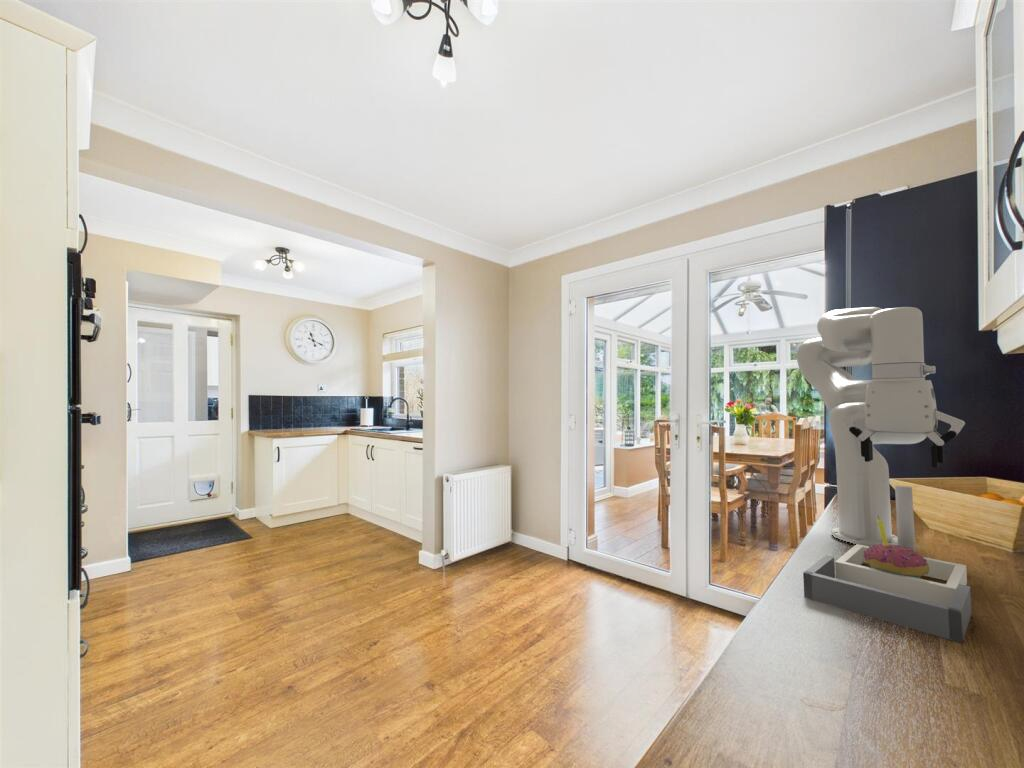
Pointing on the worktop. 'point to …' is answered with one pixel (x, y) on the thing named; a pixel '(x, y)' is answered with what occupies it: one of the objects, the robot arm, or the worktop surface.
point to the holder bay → (889, 603)
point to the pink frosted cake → (895, 558)
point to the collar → (900, 584)
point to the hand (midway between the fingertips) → (900, 463)
